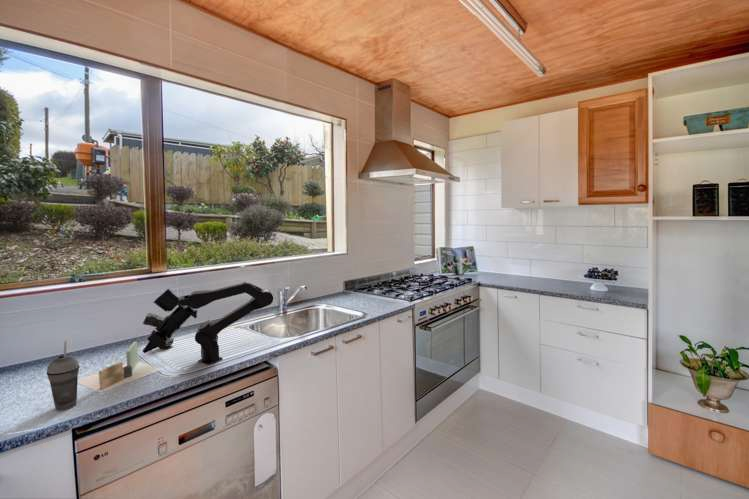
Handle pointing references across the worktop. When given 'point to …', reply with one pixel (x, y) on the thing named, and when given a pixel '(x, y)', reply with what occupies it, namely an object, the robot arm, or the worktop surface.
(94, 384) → the card
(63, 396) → the beverage cup
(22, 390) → the worktop surface
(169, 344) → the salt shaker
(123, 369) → the tan dark-tipped bar
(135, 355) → the fence panel
